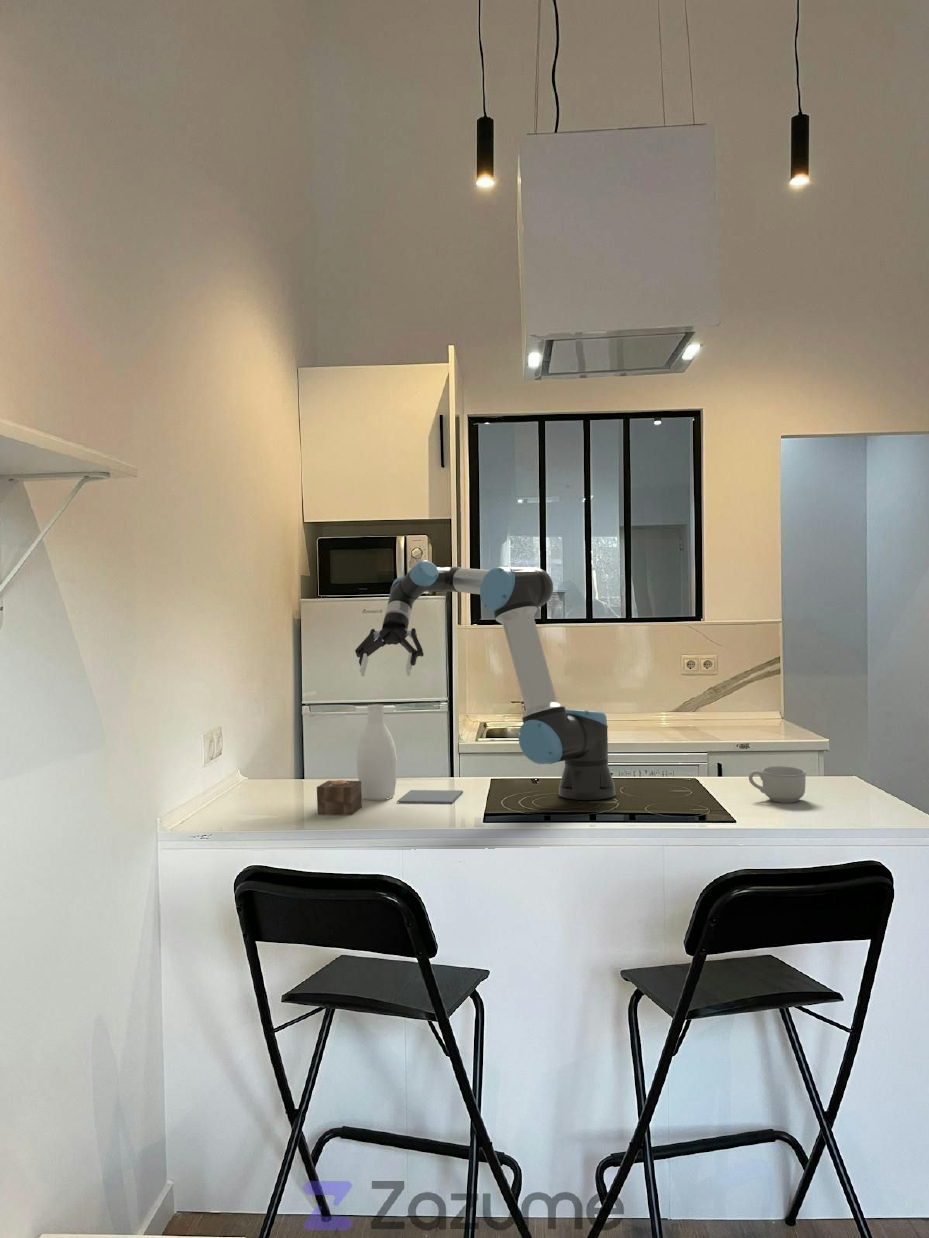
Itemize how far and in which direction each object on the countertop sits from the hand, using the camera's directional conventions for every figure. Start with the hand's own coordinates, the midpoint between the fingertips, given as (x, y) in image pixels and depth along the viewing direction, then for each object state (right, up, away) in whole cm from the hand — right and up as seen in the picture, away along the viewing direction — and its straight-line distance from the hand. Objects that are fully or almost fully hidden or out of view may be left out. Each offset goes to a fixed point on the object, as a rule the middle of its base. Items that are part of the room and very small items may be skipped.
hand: (384, 673), depth 274 cm
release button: (-9, -32, -27) cm, 43 cm away
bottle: (-1, -34, -10) cm, 35 cm away
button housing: (-9, -34, -27) cm, 44 cm away
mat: (+14, -33, -13) cm, 38 cm away
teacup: (+103, -31, -28) cm, 112 cm away
